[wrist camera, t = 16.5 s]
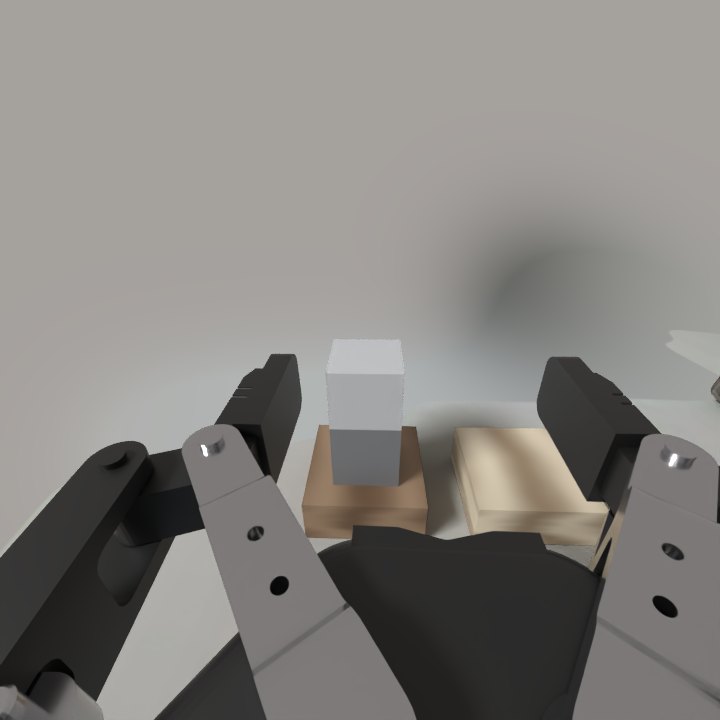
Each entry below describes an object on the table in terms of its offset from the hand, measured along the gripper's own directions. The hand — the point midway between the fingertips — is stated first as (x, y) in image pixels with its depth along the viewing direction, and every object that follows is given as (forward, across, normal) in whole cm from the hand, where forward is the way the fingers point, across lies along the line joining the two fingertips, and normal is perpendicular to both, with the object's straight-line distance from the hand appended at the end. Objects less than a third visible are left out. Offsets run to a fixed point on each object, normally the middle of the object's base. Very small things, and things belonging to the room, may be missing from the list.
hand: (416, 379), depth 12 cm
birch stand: (+14, -11, +22) cm, 29 cm away
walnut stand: (+14, +3, +22) cm, 26 cm away
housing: (+14, +3, +18) cm, 23 cm away
